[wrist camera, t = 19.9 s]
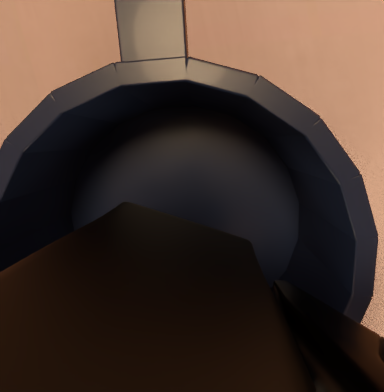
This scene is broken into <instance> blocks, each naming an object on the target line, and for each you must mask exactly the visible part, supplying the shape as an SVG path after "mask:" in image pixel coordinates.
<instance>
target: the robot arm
mask: <svg viewBox="0 0 384 392" xmlns="http://www.w3.org/2000/svg"><path fill="white" fill-rule="evenodd" d="M273 295H274V297H275V299H276V301H277V303H278V305H279V307H280V310H281V312H282V314H283V316H284V318H285V320H286V322H287V324H288V327H289V329H290V331H291V333H292V335H293V337H294V339H295V342H296V344H297V346H298V349H299V351H300V353H301V355H302V358H303V360H304V362H305V365H306V367H307V369H308V371H309V374H310V376H311V379H312V381H313V383H314V386H315V388H316V391H317V392H384V337H380V336H379V335H378V334H377V333H375V332H373V331H372V330H370V329H368V328H366V327H365V326H363V325H361V324H360V323H358V322H356V321H354V320H353V319H351V318H349V317H348V316H346V315H344V314H343V313H341V312H339V311H337V310H336V309H334V308H332V307H331V306H329V305H327V304H325V303H324V302H322V301H320V300H319V299H317V298H315V297H314V296H312V295H310V294H308V293H307V292H305V291H303V290H302V289H300V288H298V287H296V286H295V285H293V284H291V283H290V282H288V281H286V280H275V281H274V282H273Z"/></svg>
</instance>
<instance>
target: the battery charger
mask: <svg viewBox="0 0 384 392" xmlns="http://www.w3.org/2000/svg"><path fill="white" fill-rule="evenodd" d="M0 392H317V391H316V388H315V386H314V383H313V381H312V379H311V376H310V374H309V371H308V369H307V367H306V365H305V362H304V360H303V358H302V355H301V353H300V351H299V349H298V346H297V344H296V342H295V339H294V337H293V335H292V333H291V331H290V329H289V327H288V324H287V322H286V320H285V318H284V316H283V314H282V312H281V310H280V307H279V305H278V303H277V301H276V299H275V297H274V295H273V293H272V291H271V289H270V287H269V285H268V283H267V281H266V279H265V277H264V275H263V272H262V270H261V268H260V265H259V263H258V260H257V257H256V255H255V252H254V249H253V246H252V243H251V242H250V241H249V240H247V239H244V238H241V237H238V236H235V235H232V234H229V233H226V232H223V231H220V230H217V229H214V228H211V227H208V226H204V225H201V224H198V223H195V222H192V221H189V220H186V219H182V218H179V217H176V216H173V215H170V214H166V213H163V212H160V211H157V210H154V209H150V208H147V207H144V206H140V205H137V204H134V203H131V202H122V203H121V204H119V205H118V206H117V207H115V208H114V209H112V210H111V211H109V212H107V213H106V214H104V215H103V216H101V217H99V218H98V219H96V220H94V221H93V222H91V223H89V224H87V225H85V226H83V227H81V228H79V229H77V230H75V231H73V232H71V233H69V234H68V235H66V236H64V237H62V238H60V239H58V240H56V241H55V242H53V243H51V244H49V245H47V246H45V247H44V248H42V249H40V250H38V251H36V252H34V253H33V254H31V255H29V256H27V257H26V258H24V259H22V260H20V261H19V262H17V263H15V264H14V265H12V266H10V267H8V268H7V269H5V270H3V271H1V272H0Z"/></svg>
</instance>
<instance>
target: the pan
mask: <svg viewBox="0 0 384 392" xmlns="http://www.w3.org/2000/svg"><path fill="white" fill-rule="evenodd" d="M114 3H115V12H116V20H117V29H118V38H119V47H120V56H121V62H116V63H115V64H114V63H111V64H109V65H107V66H105V67H102V68H100V69H98V70H96V71H94V72H92V73H90V74H88V75H85V76H83V77H81V78H79V79H77V80H75V81H73V82H70V83H68V84H66V85H64V86H62V87H60V88H58V89H56V90H53V91H51V93H50V94H48V95H47V97H46V98H45V99H44V100H43V101H42V102H41V103H40V104H39V105H38V106H37V107H36V108H35V109H34V110H33V111H32V112H31V113H30V114H29V115H28V116H27V117H26V118H25V119H24V120H23V121H22V122H21V123H20V124H19V125H18V126H17V127H16V128H15V129H14V130H13V131H12V132H11V133H10V134H9V135H8V136H7V138H6V139H5V140H4V142H3V144H2V146H1V149H0V272H1V271H3V270H5V269H7V268H8V267H10V266H12V265H14V264H15V263H17V262H19V261H20V260H22V259H24V258H26V257H27V256H29V255H31V254H33V253H34V252H36V251H38V250H40V249H42V248H44V247H45V246H47V245H49V244H51V243H53V242H55V241H56V240H58V239H60V238H62V237H64V236H66V235H68V234H69V233H71V232H73V231H75V230H77V229H79V228H81V227H83V226H85V225H87V224H89V223H91V222H93V221H94V220H96V219H98V218H99V217H101V216H103V215H104V214H106V213H107V212H109V211H111V210H112V209H114V208H115V207H117V206H118V205H119V204H121V203H122V202H131V203H134V204H137V205H140V206H144V207H147V208H150V209H154V210H157V211H160V212H163V213H166V214H170V215H173V216H176V217H179V218H182V219H186V220H189V221H192V222H195V223H198V224H201V225H204V226H208V227H211V228H214V229H217V230H220V231H223V232H226V233H229V234H232V235H235V236H238V237H241V238H244V239H247V240H249V241H250V242H251V243H252V246H253V249H254V252H255V255H256V257H257V260H258V263H259V265H260V268H261V270H262V272H263V275H264V277H265V279H266V281H267V283H268V285H269V287H270V289H271V291H272V293H273V282H274V281H275V280H286V281H288V282H290V283H291V284H293V285H295V286H296V287H298V288H300V289H302V290H303V291H305V292H307V293H308V294H310V295H312V296H314V297H315V298H317V299H319V300H320V301H322V302H324V303H325V304H327V305H329V306H331V307H332V308H334V309H336V310H337V311H339V312H341V313H343V314H344V315H346V316H348V317H349V318H351V319H353V320H354V321H356V322H358V323H361V321H362V319H363V317H364V314H365V312H366V310H367V308H368V306H369V304H370V302H371V299H372V298H371V297H372V296H373V289H374V279H375V268H376V257H377V246H378V237H377V236H378V233H377V230H376V226H375V222H374V218H373V215H372V211H371V207H370V204H369V200H368V196H367V193H366V189H365V185H364V182H363V178H362V175H361V174H360V172H359V170H358V169H357V167H356V166H355V165H354V163H353V162H352V160H351V159H350V158H349V156H348V155H347V153H346V152H345V151H344V149H343V148H342V146H341V145H340V144H339V142H338V141H337V139H336V138H335V137H334V135H333V134H332V132H331V131H330V130H329V128H328V127H327V125H326V124H325V123H324V121H323V120H322V119H321V118H320V116H319V115H318V114H316V113H315V112H313V111H312V110H310V109H309V108H308V107H306V106H305V105H303V104H302V103H300V102H299V101H297V100H296V99H294V98H293V97H291V96H290V95H289V94H287V93H286V92H284V91H283V90H281V89H280V88H278V87H277V86H275V85H274V84H272V83H271V82H270V81H268V80H267V79H265V78H264V77H262V76H259V77H258V75H257V74H253V73H249V72H246V71H242V70H238V69H234V68H230V67H227V66H223V65H219V64H215V63H211V62H208V61H204V60H200V59H196V58H192V57H188V41H187V25H186V8H185V0H114Z"/></svg>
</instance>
